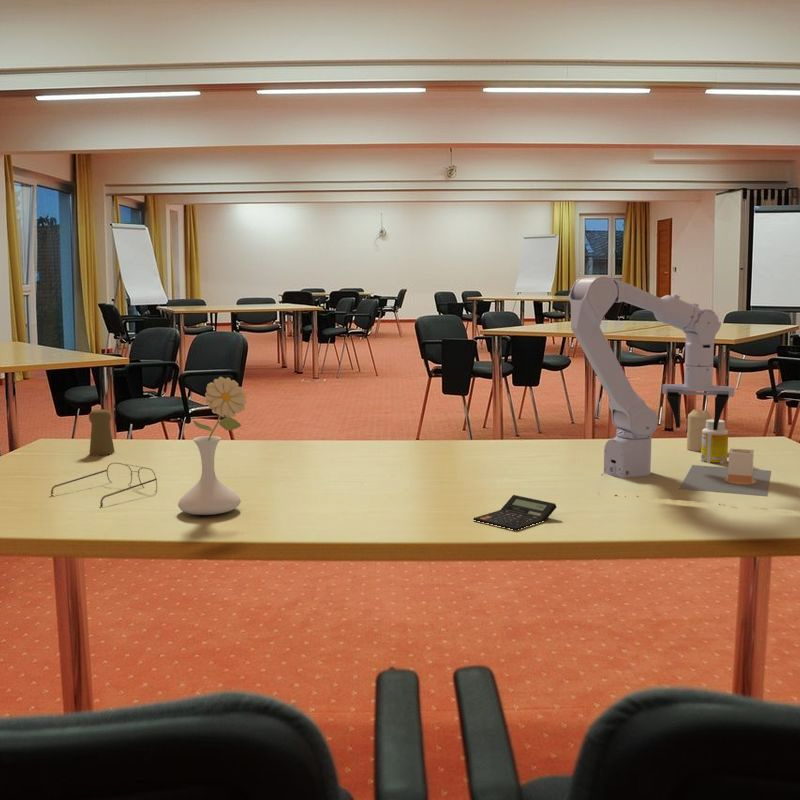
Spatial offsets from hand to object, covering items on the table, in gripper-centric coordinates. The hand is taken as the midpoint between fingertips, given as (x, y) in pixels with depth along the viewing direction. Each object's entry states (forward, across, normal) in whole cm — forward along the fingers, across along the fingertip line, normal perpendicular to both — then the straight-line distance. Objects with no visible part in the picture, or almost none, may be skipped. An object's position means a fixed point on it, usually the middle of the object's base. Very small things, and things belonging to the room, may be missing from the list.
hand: (696, 428), depth 188 cm
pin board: (+10, -7, +8) cm, 15 cm away
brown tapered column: (+10, +138, +30) cm, 142 cm away
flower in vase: (+10, +78, +66) cm, 103 cm away
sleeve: (+9, -10, +9) cm, 16 cm away
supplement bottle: (+10, -3, -10) cm, 15 cm away
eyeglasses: (+11, +107, +62) cm, 124 cm away
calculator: (+10, +25, +50) cm, 57 cm away
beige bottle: (+10, +2, -28) cm, 30 cm away
